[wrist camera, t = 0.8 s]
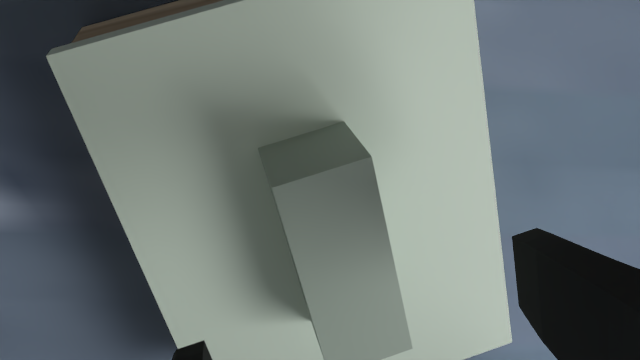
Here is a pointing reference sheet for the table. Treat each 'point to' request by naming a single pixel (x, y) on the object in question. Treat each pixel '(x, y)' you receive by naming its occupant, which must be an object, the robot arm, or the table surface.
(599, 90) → the table surface
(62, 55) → the lid
